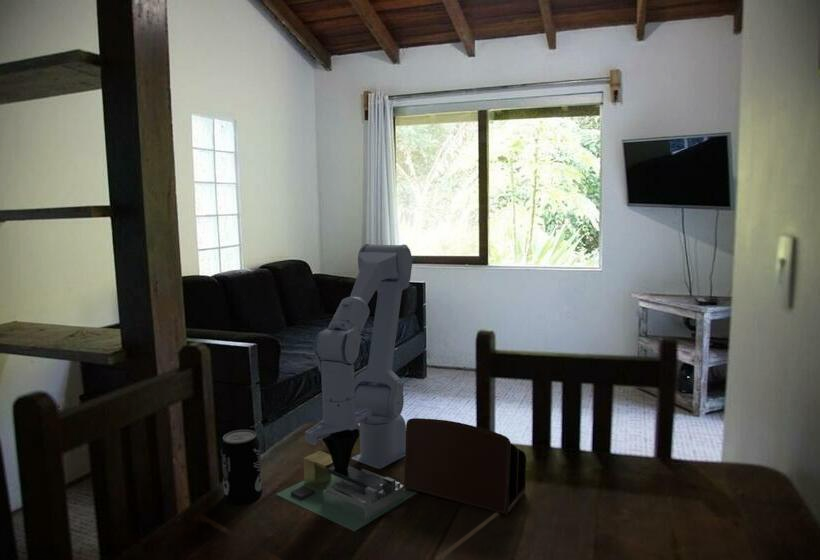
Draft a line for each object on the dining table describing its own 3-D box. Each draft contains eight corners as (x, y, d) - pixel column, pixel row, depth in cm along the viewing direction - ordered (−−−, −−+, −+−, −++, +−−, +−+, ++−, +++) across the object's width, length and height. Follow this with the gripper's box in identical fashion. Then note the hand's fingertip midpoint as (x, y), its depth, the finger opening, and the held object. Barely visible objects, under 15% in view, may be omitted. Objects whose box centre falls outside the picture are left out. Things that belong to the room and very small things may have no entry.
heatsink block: (363, 482, 116) (362, 460, 115) (404, 498, 110) (404, 475, 109) (323, 503, 109) (322, 479, 108) (365, 522, 102) (364, 497, 102)
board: (339, 466, 124) (339, 460, 124) (417, 496, 112) (417, 489, 112) (275, 497, 112) (275, 491, 112) (354, 534, 100) (354, 527, 99)
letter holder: (507, 516, 104) (509, 434, 102) (403, 489, 113) (403, 414, 111) (526, 492, 112) (528, 416, 111) (427, 470, 122) (429, 399, 120)
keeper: (320, 475, 119) (319, 450, 118) (341, 484, 116) (340, 458, 115) (304, 483, 116) (303, 457, 115) (325, 492, 112) (324, 466, 112)
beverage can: (252, 510, 108) (248, 444, 106) (217, 506, 109) (213, 441, 108) (268, 492, 114) (264, 429, 113) (235, 489, 116) (231, 427, 114)
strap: (339, 467, 115) (339, 462, 114) (388, 487, 107) (388, 482, 107) (327, 473, 112) (327, 467, 112) (376, 494, 105) (376, 488, 104)
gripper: (323, 412, 102) (326, 491, 104) (383, 390, 113) (384, 461, 115) (295, 404, 106) (298, 479, 108) (355, 383, 117) (357, 451, 119)
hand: (341, 469), depth 112 cm, fingers closed, pressing on strap
